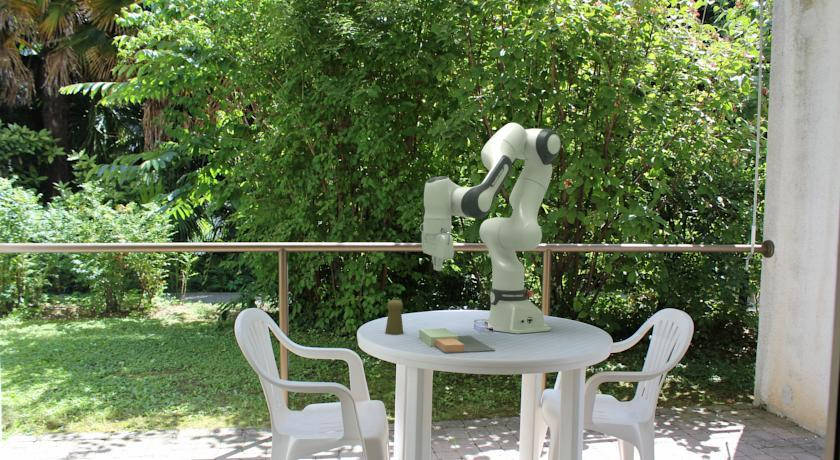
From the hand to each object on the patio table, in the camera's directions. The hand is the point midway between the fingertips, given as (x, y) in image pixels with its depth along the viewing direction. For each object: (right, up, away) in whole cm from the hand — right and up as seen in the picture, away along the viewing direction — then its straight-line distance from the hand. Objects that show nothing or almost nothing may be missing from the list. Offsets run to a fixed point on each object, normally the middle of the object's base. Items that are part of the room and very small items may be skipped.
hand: (437, 270), depth 230 cm
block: (+3, -23, -13) cm, 26 cm away
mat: (+6, -23, -6) cm, 24 cm away
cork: (-14, -22, +10) cm, 28 cm away
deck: (0, -23, -2) cm, 23 cm away
